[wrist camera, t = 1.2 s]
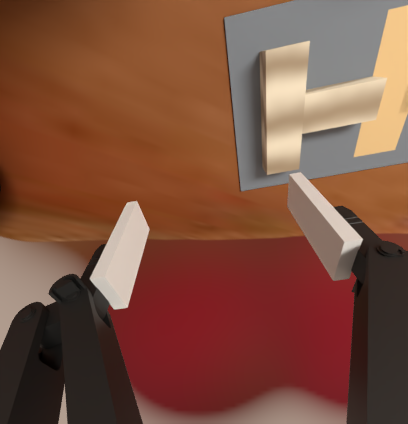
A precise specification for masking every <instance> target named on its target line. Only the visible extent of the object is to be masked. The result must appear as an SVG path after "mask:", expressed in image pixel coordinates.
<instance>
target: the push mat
mask: <svg viewBox="0 0 408 424" xmlns="http://www.w3.org/2000/svg"><path fill="white" fill-rule="evenodd" d="M224 22H225V32H226V42H227V53H228V63H229V74H230V84H231V94H232V105H233V115H234V126H235V136H236V146H237V157H238V167H239V177H240V188H241V191H245V190H251V189H256V188H262V187H268V186H274V185H280V184H285V183H289V174H293V173H299V172H301V173H302V174H303V175H304V176H305V177H306V178H307V179H314V178H320V177H326V176H332V175H337V174H343V173H349V172H355V171H360V170H366V169H372V168H378V167H384V166H389V165H395V164H401V163H407V162H408V0H294V1H290V2H286V3H282V4H278V5H274V6H270V7H266V8H262V9H258V10H253V11H249V12H245V13H241V14H237V15H233V16H229V17H225V18H224ZM306 41H310V46H309V58H308V70H307V82H306V90H308V89H313V88H318V87H323V86H327V85H332V84H337V83H342V82H347V81H351V80H356V79H361V78H366V77H371V76H373V77H384V78H387V81H386V85H385V88H384V92H383V96H382V99H381V103H380V107H379V110H378V114H377V118H376V120H372V121H367V122H362V123H356V124H351V125H346V126H341V127H336V128H330V129H325V130H320V131H315V132H309V133H304V134H302V141H301V153H300V165H299V169H297V170H292V171H286V172H280V173H275V174H269V175H267V174H266V172H265V171H264V169H263V167H262V133H261V94H260V54H259V52H260V51H265V50H269V49H274V48H278V47H282V46H287V45H291V44H296V43H300V42H306Z"/></svg>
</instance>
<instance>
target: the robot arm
mask: <svg viewBox="0 0 408 424" xmlns="http://www.w3.org/2000/svg"><path fill="white" fill-rule="evenodd" d="M287 207H288V208H289V210H290V212H291V213H292V215H293V217H294V218H295V220H296V221H297V223H298V225H299V226H300V228H301V229H302V231H303V233H304V234H305V236H306V238H307V239H308V241H309V242H310V244H311V245H312V247H313V249H314V250H315V252H316V254H317V255H318V257H319V258H320V260H321V262H322V263H323V265H324V267H325V268H326V269H327V271H328V273H329V275H330V276H331V278H332V279H333V280H334V281H335V280H342V279H348V278H349V277H350V274H351V271H352V272H353V273H354V275H355V276H356V277H357V279H356V282H355V284H354V287H353V290H352V292H355V294H354V310H353V326H352V343H351V359H350V375H349V393H348V408H347V424H408V251H405V250H404V249H403V248H402V247H400V246H398V245H396V244H394V243H392V242H388V241H382V240H381V239H380V238H379V237H378V236H377V235H376V234H375V233H374V232H373V231H372V230H371V229H370V228H369V227H368V226H367V225H366V224H365V223H363V222H362V220H361V219H359V218H358V217H357V216H356V215H355V214H354V213H353V212H352V211H351V210H349V209H347V208H345V207H344V206H337V207H333V206H332V205H331V204H330V203H329V202H328V201H327V200H326V199H325V198H324V197H323V196H322V195H321V193H320V192H319V191H318V190H317V189H316V188H315V187H314V186H313V185H312V184H311V183H310V182H309V181H308V179H307V178H306V177H305V176H304V175H303V174H302V173H301V172H299V173H293V174H289V188H288V206H287ZM148 233H149V227H148V225H147V223H146V220H145V218H144V216H143V214H142V211H141V209H140V207H139V205H138V202H137V201H134V202H128V203H127V204H126V206H125V208H124V210H123V212H122V214H121V216H120V218H119V220H118V222H117V224H116V226H115V228H114V230H113V232H112V234H111V236H110V238H109V240H108V242H107V244H103V245H101V246H100V247H99V248H98V249H97V250H96V251H95V253H94V255H93V256H92V259H91V260H90V262H89V265H88V266H87V267H86V269H85V271H84V273H83V275H82V277H81V279H80V278H79V277H78V276H77V275H75V274H69V275H66V276H64V277H62V278H60V279H59V280H58V281H56V282H55V283H54V284H53V285H52V287H51V288H50V290H49V295H50V296H51V297H52V298H54V299H55V300H56V301H57V302H54V303H52V304H50V305H47V306H44V305H43V304H42V303H41V302H34V303H31V304H29V305H27V306H26V307H25V308H23V309H22V310H20V311H19V312H18V314H17V315H16V316H15V317H14V319H13V321H12V323H11V325H10V328H9V330H8V333H7V335H6V338H5V340H4V342H3V345H2V347H1V350H0V424H58V421H59V415H60V408H61V402H62V395H63V390H64V384H65V393H66V407H67V421H68V424H143V423H142V419H141V416H140V413H139V409H138V406H137V403H136V400H135V396H134V393H133V390H132V386H131V383H130V379H129V376H128V373H127V370H126V366H125V363H124V359H123V356H122V353H121V350H120V346H119V343H118V340H117V336H116V333H115V330H114V326H113V323H112V320H111V316H110V314H109V312H108V311H107V309H108V307H109V304H110V305H111V306H112V307H113V309H122V308H127V307H128V304H129V300H130V297H131V293H132V289H133V286H134V283H135V279H136V275H137V272H138V268H139V265H140V261H141V258H142V254H143V250H144V247H145V243H146V240H147V236H148Z"/></svg>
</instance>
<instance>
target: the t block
mask: <svg viewBox="0 0 408 424" xmlns="http://www.w3.org/2000/svg"><path fill="white" fill-rule="evenodd" d="M309 46H310V41H306V42H300V43H296V44H291V45H287V46H282V47H278V48H274V49H269V50H265V51H260V52H259V54H260V94H261V133H262V167H263V169H264V171H265V172H266V174H267V175H269V174H275V173H280V172H286V171H292V170H297V169H299V165H300V153H301V141H302V134H304V133H309V132H315V131H320V130H325V129H330V128H336V127H341V126H346V125H351V124H356V123H362V122H367V121H372V120H376V118H377V114H378V110H379V107H380V103H381V99H382V96H383V92H384V88H385V85H386V81H387V78H384V77H373V76H371V77H366V78H361V79H356V80H351V81H347V82H342V83H337V84H332V85H327V86H323V87H318V88H313V89H308V90H306V82H307V70H308V58H309Z"/></svg>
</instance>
